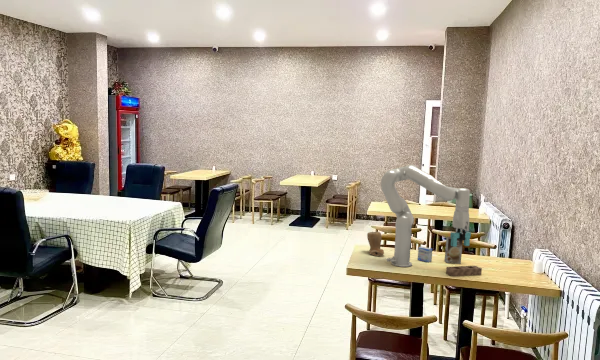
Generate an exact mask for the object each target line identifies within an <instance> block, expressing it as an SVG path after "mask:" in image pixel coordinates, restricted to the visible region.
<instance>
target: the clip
mask: <svg viewBox="0 0 600 360" xmlns="http://www.w3.org/2000/svg"><path fill="white" fill-rule="evenodd" d="M460 234H461V232H456V231H453V232H450V236H449V237H451V246H453V247H456V246H457V238H460ZM471 236H472V232H470V231H468V232H466V234H465V241H463V244H462V246H465V247H469V246H470V241H471V240H470V239H471Z"/></svg>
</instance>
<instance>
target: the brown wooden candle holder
mask: <svg viewBox="0 0 600 360" xmlns="http://www.w3.org/2000/svg"><path fill="white" fill-rule="evenodd" d="M482 271H483V268H482V267H480V266H478V265H462V266H460V265H459V266H456V265H455V266H446V268H445V274H446V275H448V276H450V277H470V276H482Z"/></svg>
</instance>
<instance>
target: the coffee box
mask: <svg viewBox="0 0 600 360" xmlns="http://www.w3.org/2000/svg"><path fill="white" fill-rule="evenodd" d="M445 239H446V240H445V241H446V242H445V252H444V262H445V263H446V264H457V265H461V263H462V253H463V244H464V241H460V239H457V246H456V247H453V246H451V237H450V236H446V238H445Z"/></svg>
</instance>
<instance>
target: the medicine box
mask: <svg viewBox="0 0 600 360" xmlns="http://www.w3.org/2000/svg"><path fill="white" fill-rule="evenodd" d="M417 261H420V262H425V263H431V262H432V261H433V248H432V247H425V246H422V245H421V246H419V247H418V250H417Z"/></svg>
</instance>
